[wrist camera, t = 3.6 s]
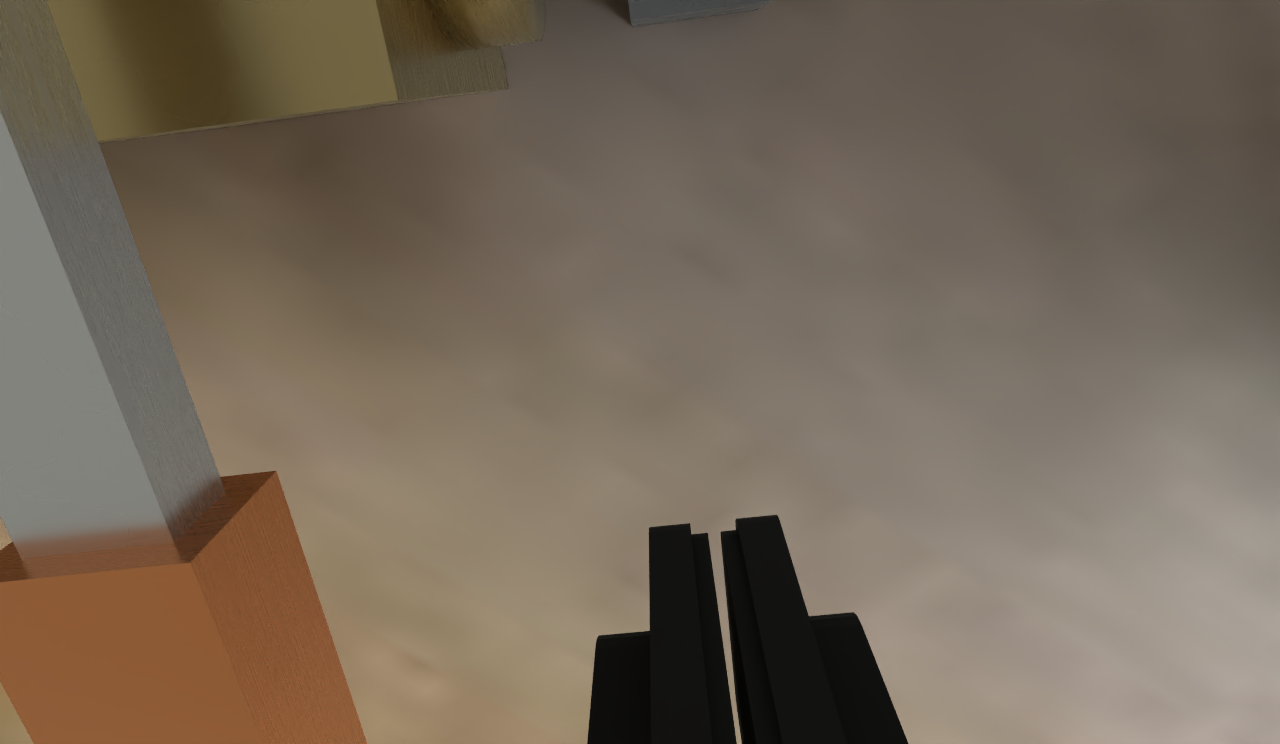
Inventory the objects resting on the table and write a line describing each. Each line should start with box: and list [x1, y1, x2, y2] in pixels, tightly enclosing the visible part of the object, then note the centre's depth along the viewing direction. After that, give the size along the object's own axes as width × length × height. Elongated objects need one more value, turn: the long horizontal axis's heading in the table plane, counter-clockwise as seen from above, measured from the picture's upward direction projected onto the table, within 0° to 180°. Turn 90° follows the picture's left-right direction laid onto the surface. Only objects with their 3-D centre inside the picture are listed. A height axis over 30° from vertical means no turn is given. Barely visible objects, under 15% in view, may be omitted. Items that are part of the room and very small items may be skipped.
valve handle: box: [0, 0, 367, 744], centre depth 8 cm, size 13×3×2 cm, turn 7°
